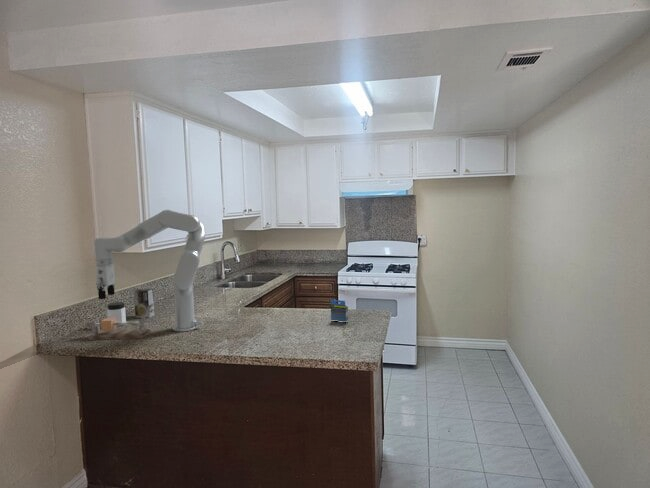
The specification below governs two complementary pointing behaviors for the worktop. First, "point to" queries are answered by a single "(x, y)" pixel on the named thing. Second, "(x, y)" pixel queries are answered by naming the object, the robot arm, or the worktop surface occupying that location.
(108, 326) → the sleeve
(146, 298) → the coffee box
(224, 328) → the worktop surface
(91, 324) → the cube slider rail
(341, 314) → the label tape cartridge
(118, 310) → the jar
